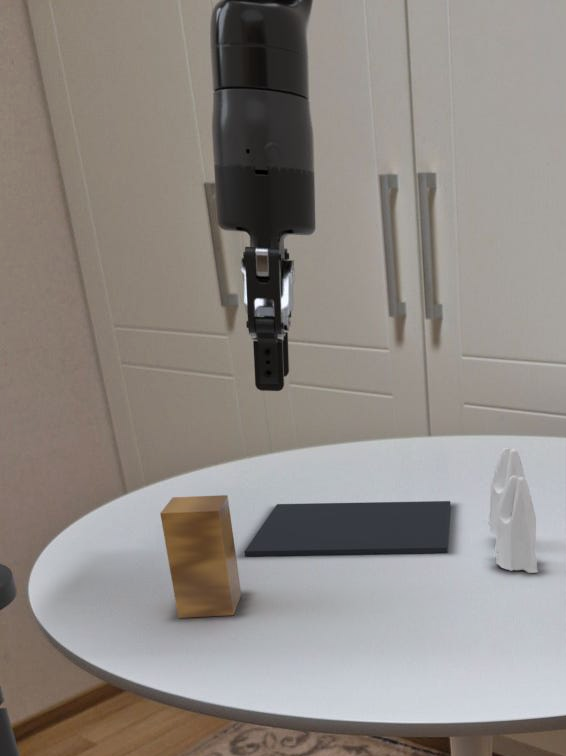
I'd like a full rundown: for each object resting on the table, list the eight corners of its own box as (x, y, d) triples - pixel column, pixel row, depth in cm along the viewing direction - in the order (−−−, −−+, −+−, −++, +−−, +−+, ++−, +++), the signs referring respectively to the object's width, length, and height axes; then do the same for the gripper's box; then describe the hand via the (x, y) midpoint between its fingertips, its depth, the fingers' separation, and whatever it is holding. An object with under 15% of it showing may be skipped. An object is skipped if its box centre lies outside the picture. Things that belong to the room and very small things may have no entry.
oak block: (178, 618, 81) (159, 512, 77) (189, 597, 86) (172, 497, 82) (233, 615, 82) (218, 510, 77) (241, 595, 86) (227, 494, 82)
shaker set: (487, 537, 101) (486, 440, 96) (524, 536, 101) (524, 439, 96) (498, 575, 90) (497, 467, 85) (539, 573, 90) (540, 465, 86)
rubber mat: (244, 556, 96) (244, 551, 96) (277, 508, 113) (276, 503, 112) (447, 552, 96) (447, 547, 96) (450, 505, 113) (450, 500, 113)
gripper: (224, 169, 74) (235, 371, 80) (201, 152, 61) (217, 394, 67) (316, 175, 75) (319, 374, 82) (312, 160, 62) (317, 397, 69)
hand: (273, 382), depth 75 cm, fingers open, 8 cm apart
